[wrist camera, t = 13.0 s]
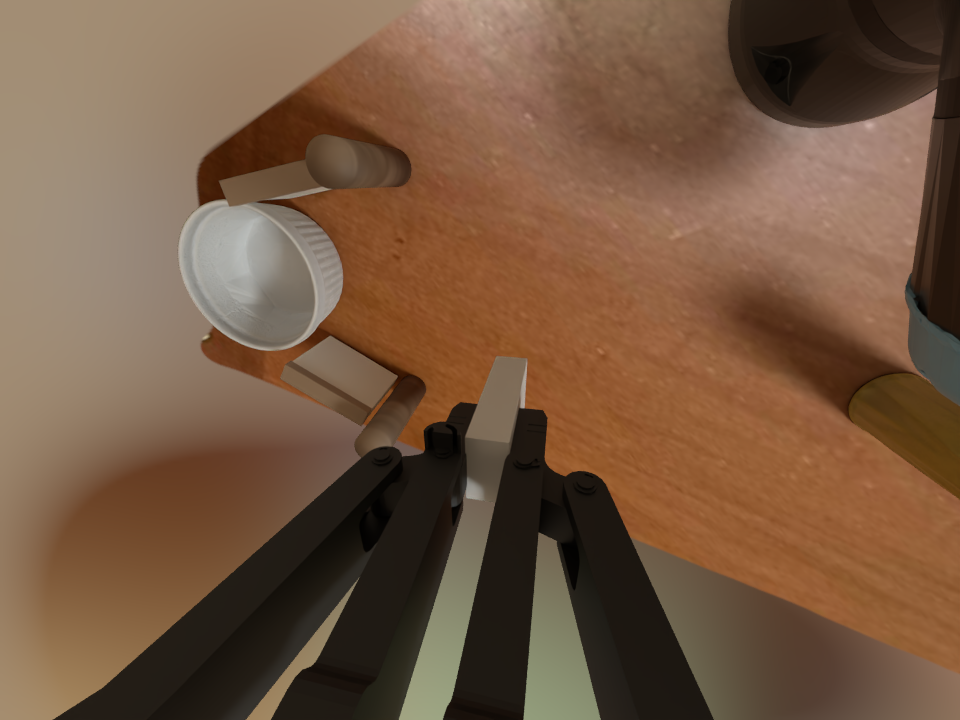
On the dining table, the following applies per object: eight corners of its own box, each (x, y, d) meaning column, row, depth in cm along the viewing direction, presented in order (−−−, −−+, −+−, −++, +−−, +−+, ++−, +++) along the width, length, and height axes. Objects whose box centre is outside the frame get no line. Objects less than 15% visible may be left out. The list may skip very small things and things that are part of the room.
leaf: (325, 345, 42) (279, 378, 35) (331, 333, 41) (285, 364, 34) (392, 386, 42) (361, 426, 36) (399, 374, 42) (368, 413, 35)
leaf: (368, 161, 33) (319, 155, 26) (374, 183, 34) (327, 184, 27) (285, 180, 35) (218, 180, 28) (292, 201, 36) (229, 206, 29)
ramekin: (379, 299, 39) (346, 321, 33) (287, 343, 43) (242, 371, 37) (304, 170, 35) (250, 167, 29) (211, 233, 39) (146, 243, 33)
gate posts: (376, 148, 33) (300, 134, 23) (409, 148, 32) (346, 133, 23) (401, 397, 44) (357, 460, 34) (426, 400, 43) (389, 464, 33)
